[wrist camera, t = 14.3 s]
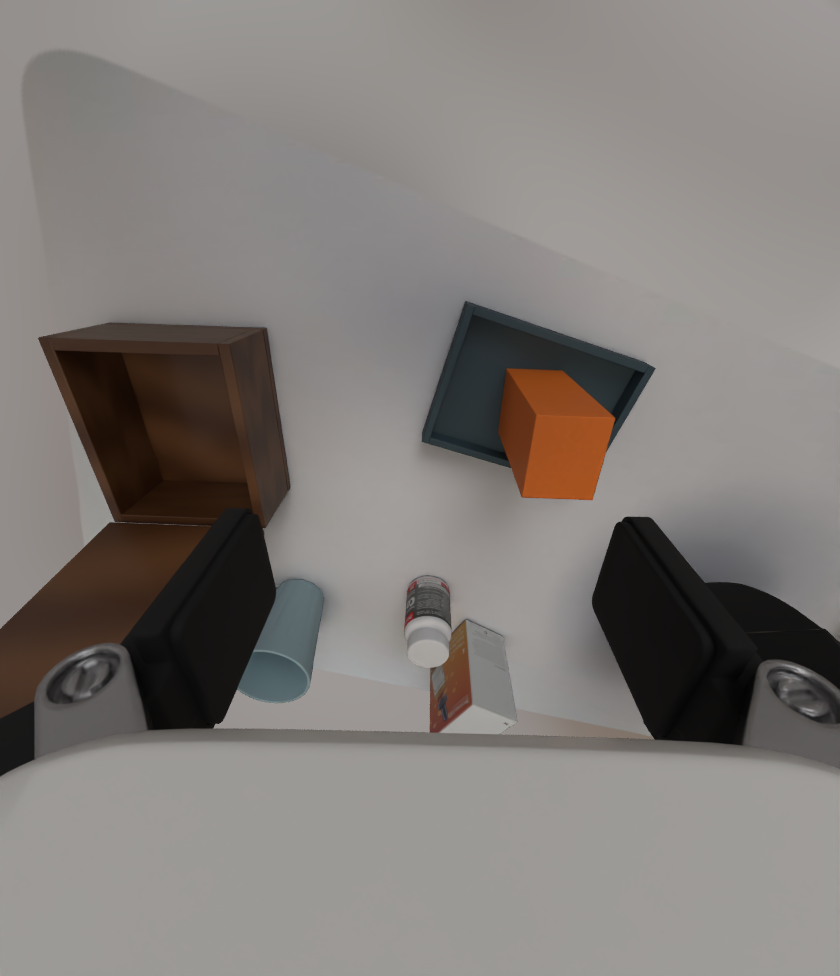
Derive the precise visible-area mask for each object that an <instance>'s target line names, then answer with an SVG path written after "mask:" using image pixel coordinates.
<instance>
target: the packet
mask: <svg viewBox="0 0 840 976" xmlns="http://www.w3.org/2000/svg"><path fill="white" fill-rule="evenodd" d="M614 421H615V417H614V416H613V415H612V414H610V413H609V412H608V411H607V410H606V409H605V408H604V407H603V406H602V405H600V404H599V403H598V402H597V401H596V400H595V399H594V398H593V397H591V396H590V395H589V394H588V393H587V392H586V391H585V390H584V389H583V388H581V387H580V386H579V385H578V384H577V383H576V382H575V381H574V380H572V379H571V378H570V377H569V376H568V375H567V374H566V373H565V372H564V371H562V370H538V369H509V368H507V369H506V376H505V383H504V391H503V398H502V406H501V414H500V421H499V429H498V433H499V436H500V439H501V441H502V444H503V447H504V450H505V452H506V455H507V458H508V460H509V463H510V466H511V469H512V471H513V474H514V477H515V480H516V482H517V485H518V488H519V491H520V493H521V496H522V497H526V498H552V499H578V500H593V496H594V493H595V489H596V486H597V482H598V479H599V475H600V471H601V468H602V464H603V461H604V457H605V454H606V450H607V446H608V443H609V439H610V436H611V432H612V428H613V425H614Z"/></svg>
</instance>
